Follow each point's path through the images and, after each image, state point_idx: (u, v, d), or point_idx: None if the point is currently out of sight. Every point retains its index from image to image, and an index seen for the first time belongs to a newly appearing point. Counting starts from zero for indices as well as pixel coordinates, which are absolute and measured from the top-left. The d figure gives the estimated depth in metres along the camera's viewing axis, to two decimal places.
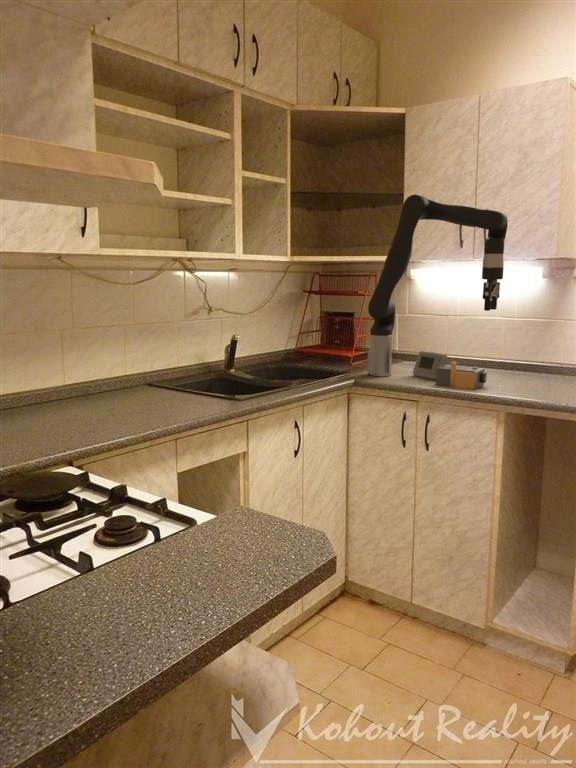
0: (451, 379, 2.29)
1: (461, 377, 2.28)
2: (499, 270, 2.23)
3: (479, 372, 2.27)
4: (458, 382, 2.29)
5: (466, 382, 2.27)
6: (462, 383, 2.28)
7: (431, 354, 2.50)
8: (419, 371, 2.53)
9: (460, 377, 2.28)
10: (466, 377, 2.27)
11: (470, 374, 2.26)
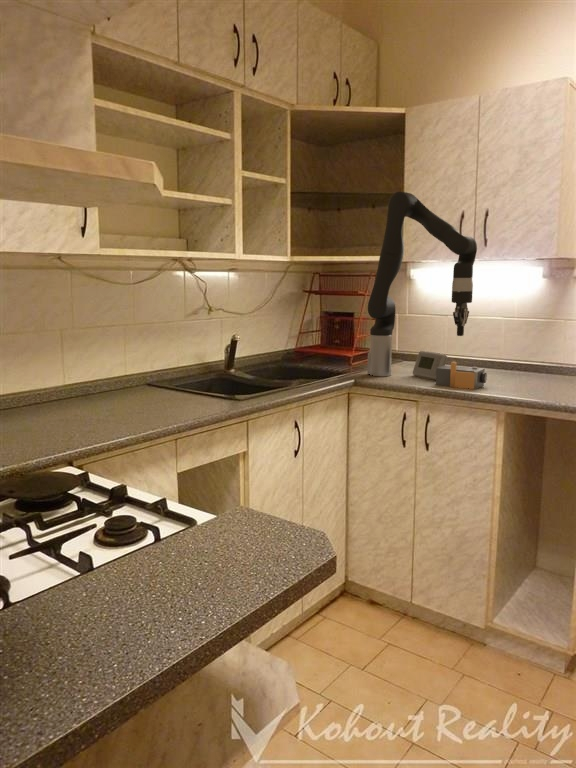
0: (451, 379, 2.29)
1: (461, 377, 2.28)
2: (468, 294, 2.26)
3: (479, 372, 2.27)
4: (458, 382, 2.29)
5: (466, 382, 2.27)
6: (462, 383, 2.28)
7: (431, 354, 2.50)
8: (419, 371, 2.53)
9: (460, 377, 2.28)
10: (466, 377, 2.27)
11: (470, 374, 2.26)
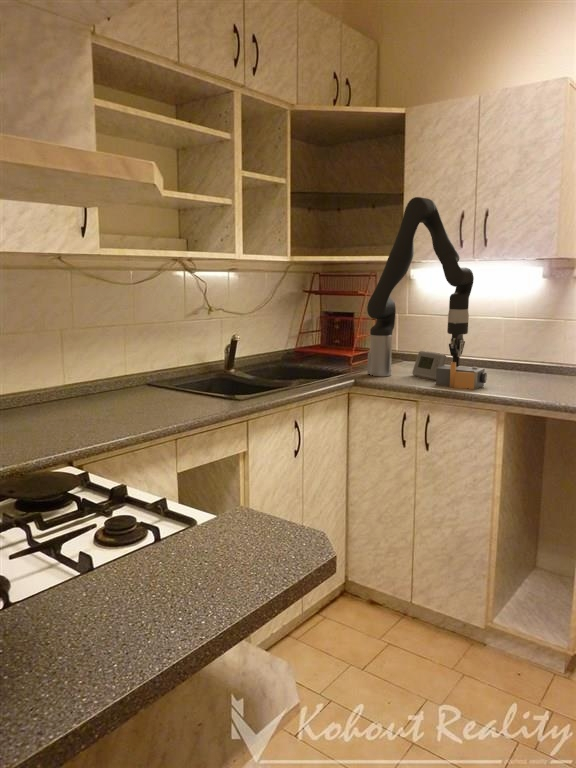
0: (451, 379, 2.29)
1: (461, 377, 2.28)
2: (464, 325, 2.25)
3: (479, 372, 2.27)
4: (458, 382, 2.28)
5: (465, 382, 2.27)
6: (462, 383, 2.28)
7: (430, 354, 2.50)
8: (418, 371, 2.53)
9: (460, 377, 2.28)
10: (466, 377, 2.27)
11: (470, 374, 2.26)
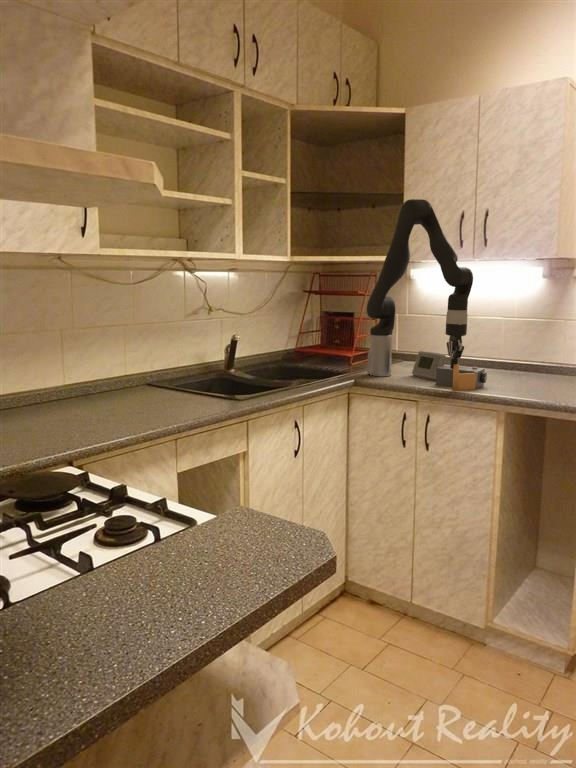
0: (456, 382, 2.22)
1: (464, 379, 2.24)
2: (466, 326, 2.20)
3: (479, 372, 2.27)
4: (461, 384, 2.24)
5: (468, 383, 2.24)
6: (465, 385, 2.24)
7: (430, 354, 2.50)
8: (418, 371, 2.53)
9: (463, 379, 2.23)
10: (468, 378, 2.24)
11: (472, 375, 2.24)
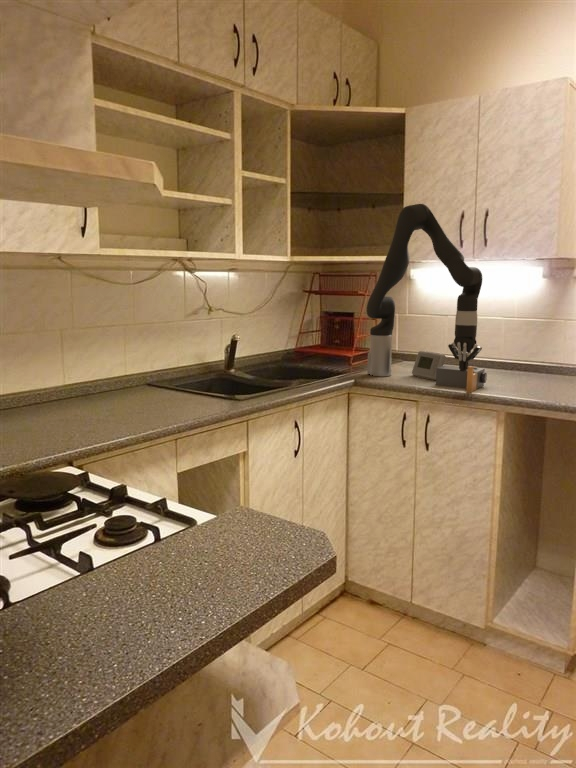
0: (471, 384, 2.18)
1: (473, 380, 2.21)
2: None
3: (479, 372, 2.27)
4: (472, 386, 2.20)
5: (474, 384, 2.23)
6: (473, 386, 2.22)
7: (430, 354, 2.50)
8: (418, 371, 2.53)
9: (473, 380, 2.21)
10: (474, 379, 2.22)
11: (475, 375, 2.23)
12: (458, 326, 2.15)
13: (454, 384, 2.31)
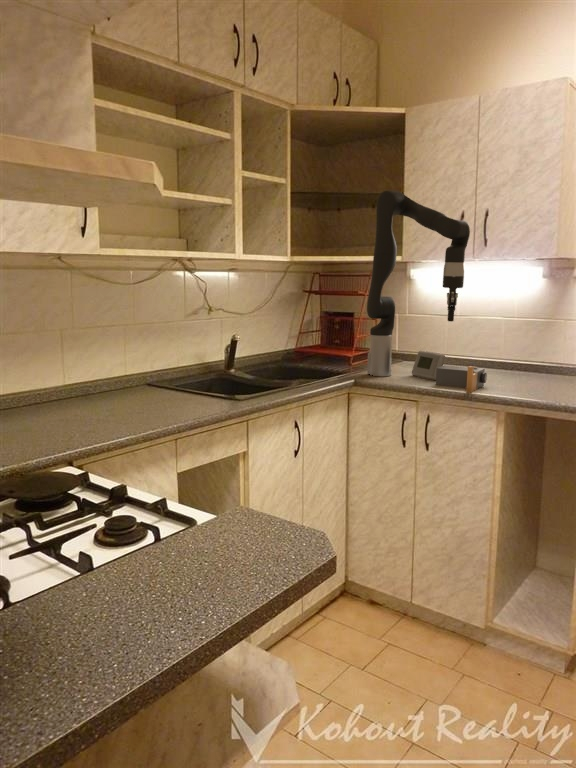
0: (471, 384, 2.18)
1: (473, 380, 2.21)
2: (461, 279, 2.24)
3: (479, 372, 2.27)
4: (472, 386, 2.20)
5: (474, 384, 2.23)
6: (473, 386, 2.22)
7: (429, 354, 2.50)
8: (418, 371, 2.53)
9: (473, 380, 2.21)
10: (474, 379, 2.22)
11: (476, 375, 2.23)
12: None
13: (454, 384, 2.31)
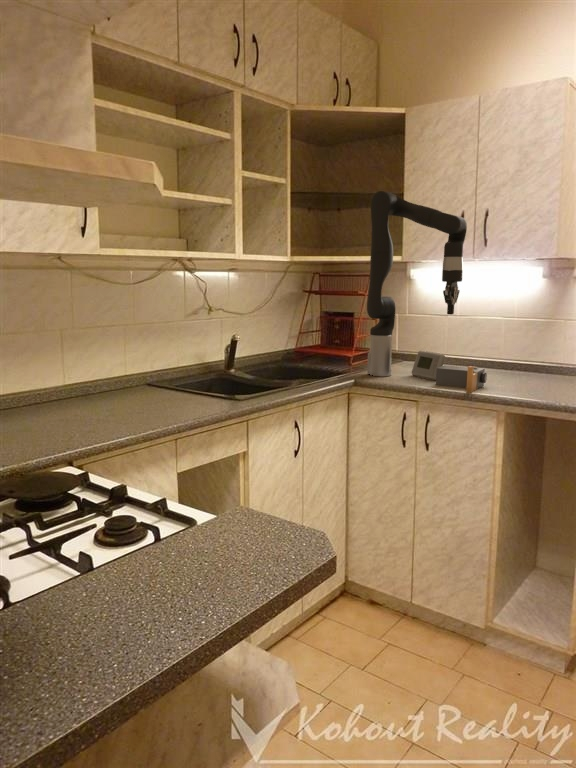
0: (471, 384, 2.18)
1: (473, 380, 2.21)
2: (458, 273, 2.30)
3: (479, 372, 2.27)
4: (472, 386, 2.20)
5: (474, 384, 2.23)
6: (473, 386, 2.22)
7: (429, 354, 2.50)
8: (417, 371, 2.53)
9: (473, 380, 2.21)
10: (474, 379, 2.22)
11: (476, 375, 2.23)
12: None
13: (454, 384, 2.31)
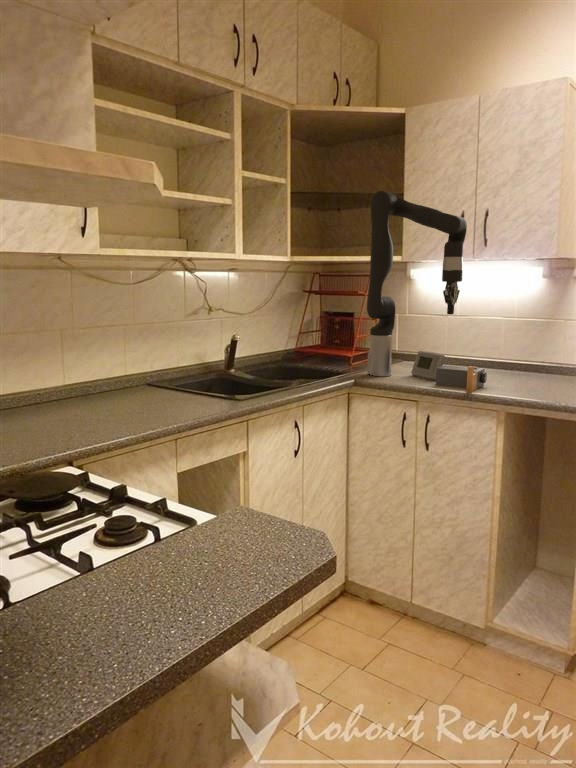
0: (471, 384, 2.18)
1: (473, 380, 2.21)
2: (458, 273, 2.30)
3: (479, 372, 2.27)
4: (472, 386, 2.20)
5: (474, 384, 2.23)
6: (473, 386, 2.22)
7: (429, 354, 2.50)
8: (417, 371, 2.53)
9: (473, 380, 2.21)
10: (474, 379, 2.22)
11: (476, 375, 2.23)
12: None
13: (454, 384, 2.31)
